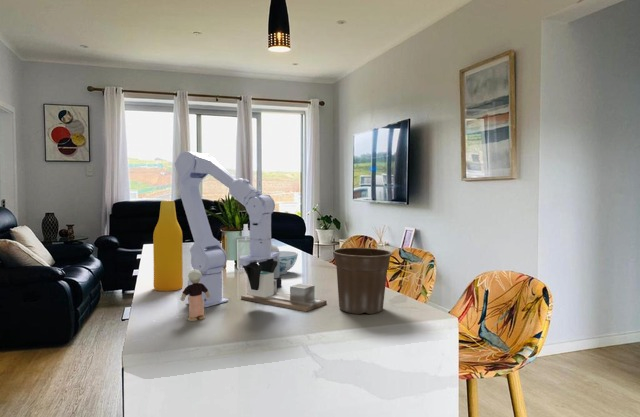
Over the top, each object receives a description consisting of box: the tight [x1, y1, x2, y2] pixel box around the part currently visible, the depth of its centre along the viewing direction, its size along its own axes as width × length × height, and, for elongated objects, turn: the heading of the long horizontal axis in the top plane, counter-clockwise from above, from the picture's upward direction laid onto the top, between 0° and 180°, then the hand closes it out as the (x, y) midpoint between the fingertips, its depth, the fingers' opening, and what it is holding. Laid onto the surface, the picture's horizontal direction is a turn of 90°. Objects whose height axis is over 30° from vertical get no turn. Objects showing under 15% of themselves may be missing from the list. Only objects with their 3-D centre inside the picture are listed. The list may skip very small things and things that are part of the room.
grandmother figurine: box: [180, 269, 210, 322], centre depth 115 cm, size 8×4×13 cm, turn 141°
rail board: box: [240, 280, 327, 312], centre depth 133 cm, size 10×24×6 cm, turn 56°
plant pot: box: [332, 247, 393, 315], centre depth 125 cm, size 16×16×16 cm
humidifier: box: [271, 242, 282, 289], centre depth 154 cm, size 8×8×25 cm
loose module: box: [247, 271, 274, 297], centre depth 125 cm, size 4×6×6 cm, turn 56°
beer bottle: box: [152, 200, 184, 292], centre depth 150 cm, size 9×9×29 cm
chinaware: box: [279, 250, 299, 276], centre depth 179 cm, size 15×15×8 cm
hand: (260, 288), depth 125 cm, fingers closed on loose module, 4 cm apart
